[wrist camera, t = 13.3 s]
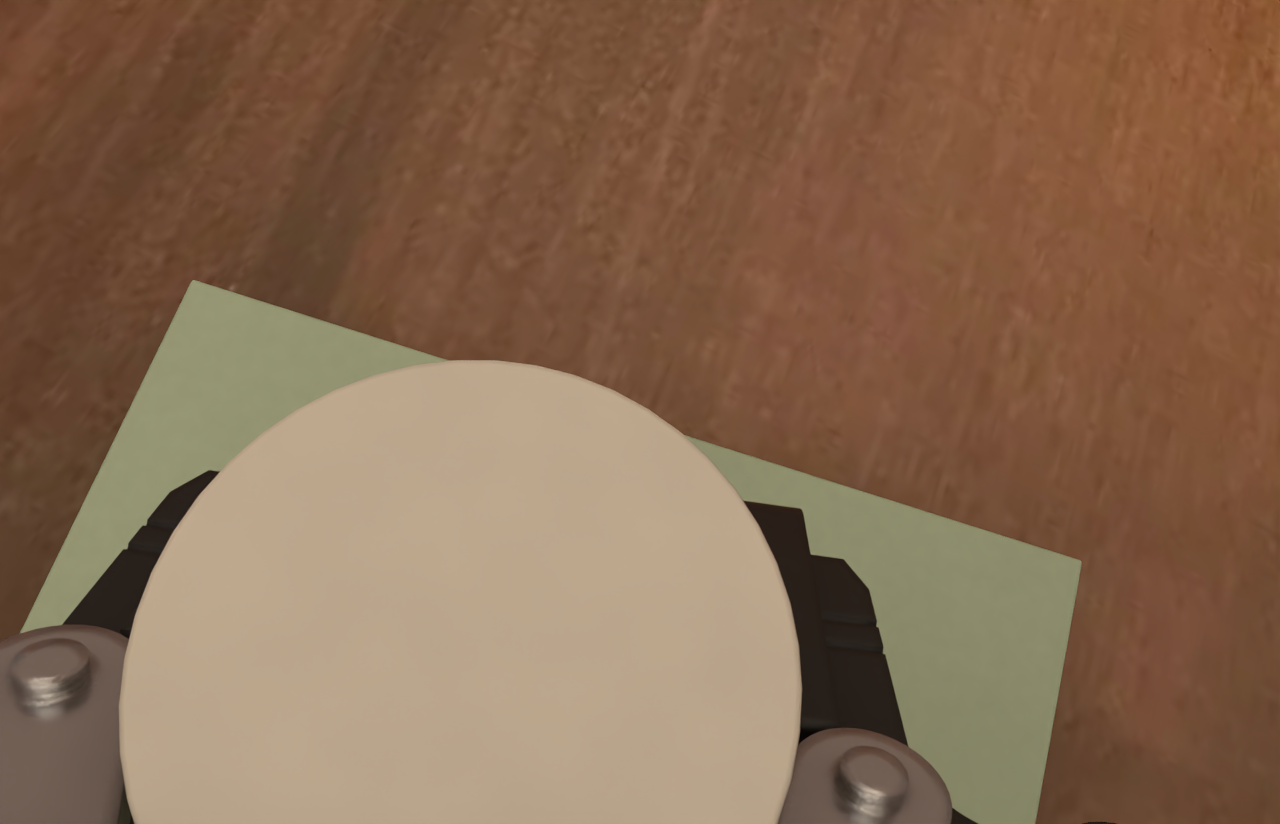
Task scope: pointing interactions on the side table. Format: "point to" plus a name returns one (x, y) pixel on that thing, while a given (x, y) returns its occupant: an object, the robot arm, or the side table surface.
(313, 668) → the cylinder
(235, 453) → the mat
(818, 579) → the robot arm
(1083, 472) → the side table surface
